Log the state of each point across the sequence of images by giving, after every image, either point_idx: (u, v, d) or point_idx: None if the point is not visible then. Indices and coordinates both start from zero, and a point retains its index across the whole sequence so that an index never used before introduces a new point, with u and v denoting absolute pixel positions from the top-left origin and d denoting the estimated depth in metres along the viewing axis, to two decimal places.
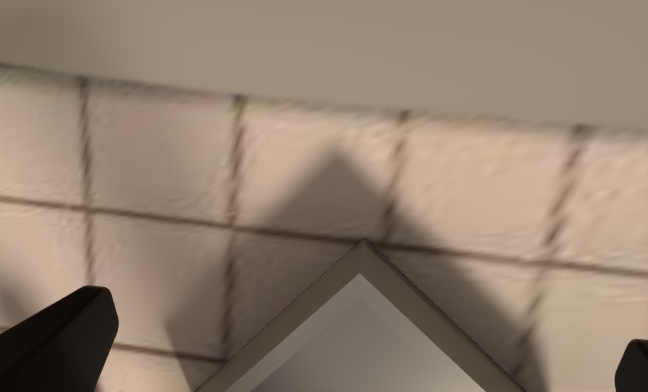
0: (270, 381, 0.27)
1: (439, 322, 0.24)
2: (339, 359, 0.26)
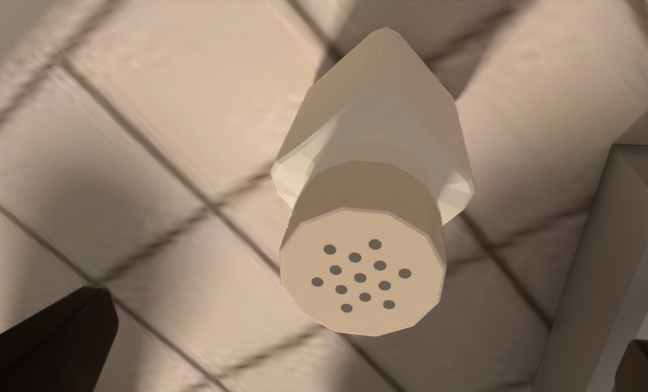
0: None
1: None
2: None
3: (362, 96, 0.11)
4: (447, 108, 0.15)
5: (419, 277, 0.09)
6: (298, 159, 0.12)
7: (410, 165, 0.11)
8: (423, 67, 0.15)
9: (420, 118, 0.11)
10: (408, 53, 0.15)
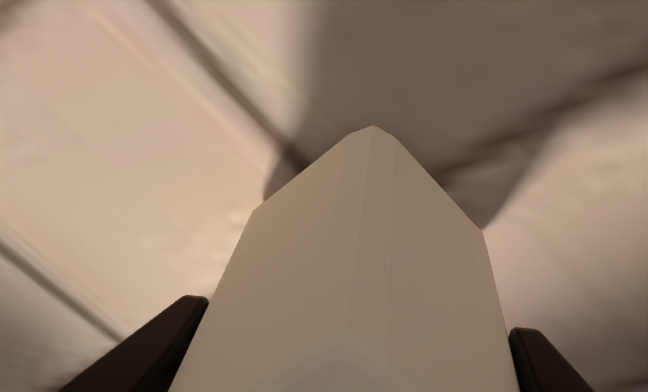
0: None
1: None
2: None
3: (307, 371, 0.05)
4: (478, 280, 0.08)
5: None
6: None
7: None
8: (435, 197, 0.09)
9: None
10: (410, 180, 0.09)
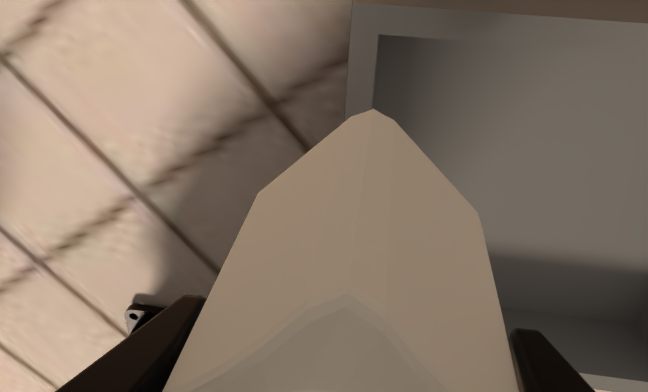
0: (494, 61, 0.17)
1: None
2: (595, 112, 0.18)
3: (312, 318, 0.05)
4: (472, 253, 0.09)
5: None
6: None
7: None
8: (432, 176, 0.10)
9: (431, 360, 0.06)
10: (408, 159, 0.09)
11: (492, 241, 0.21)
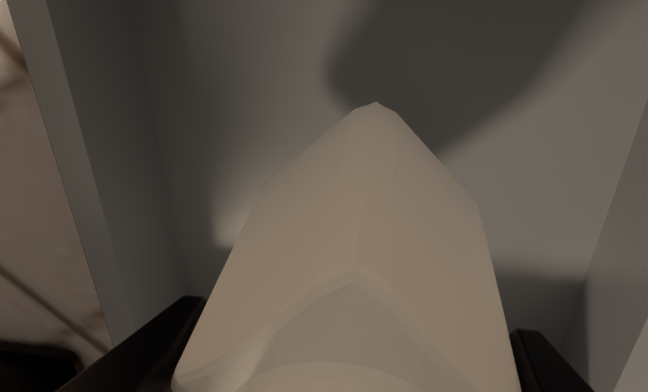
0: None
1: None
2: (450, 45, 0.12)
3: (321, 294, 0.06)
4: (472, 240, 0.09)
5: None
6: (209, 386, 0.07)
7: None
8: (433, 167, 0.10)
9: (433, 333, 0.06)
10: (410, 150, 0.10)
11: None
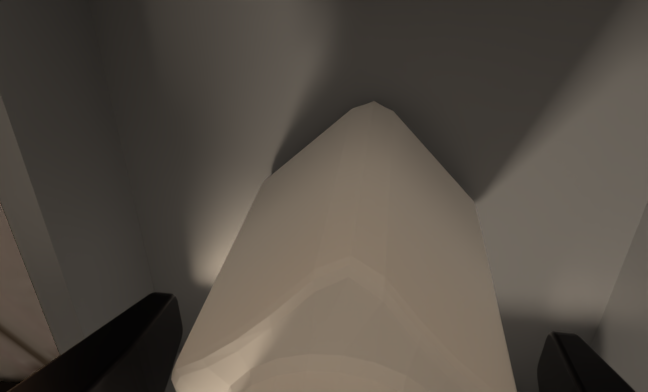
0: None
1: None
2: (452, 70, 0.10)
3: (318, 288, 0.06)
4: (467, 237, 0.09)
5: None
6: (209, 378, 0.07)
7: None
8: (430, 165, 0.10)
9: (427, 326, 0.06)
10: (407, 148, 0.10)
11: None
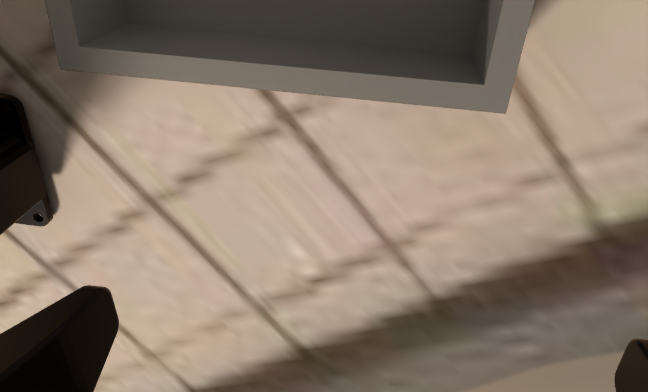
0: None
1: None
2: None
3: None
4: None
5: None
6: None
7: None
8: None
9: None
10: None
11: None
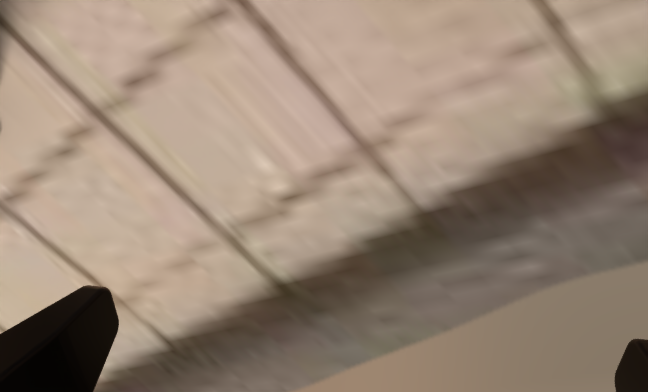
0: None
1: None
2: None
3: None
4: None
5: None
6: None
7: None
8: None
9: None
10: None
11: None
